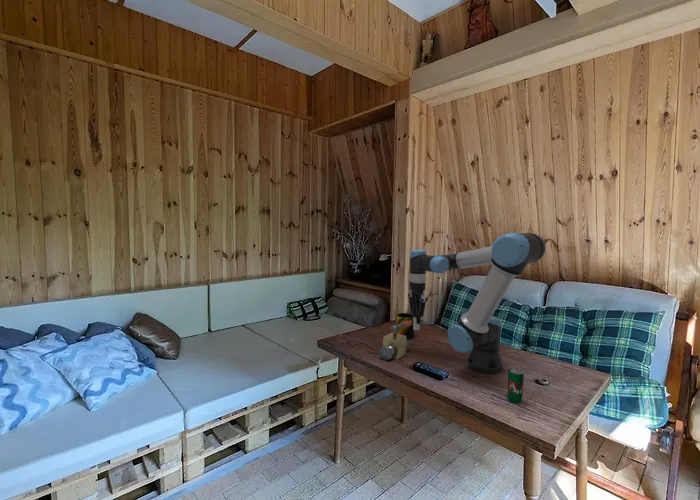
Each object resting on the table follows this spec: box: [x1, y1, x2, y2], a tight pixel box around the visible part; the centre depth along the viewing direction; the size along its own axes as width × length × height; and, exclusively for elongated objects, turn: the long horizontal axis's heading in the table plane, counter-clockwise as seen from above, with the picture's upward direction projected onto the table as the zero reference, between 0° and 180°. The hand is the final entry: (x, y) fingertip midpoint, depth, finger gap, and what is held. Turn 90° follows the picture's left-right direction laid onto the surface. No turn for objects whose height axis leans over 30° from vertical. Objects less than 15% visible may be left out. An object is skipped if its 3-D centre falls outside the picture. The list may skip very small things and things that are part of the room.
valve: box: [378, 332, 410, 361], centre depth 164 cm, size 17×8×9 cm, turn 142°
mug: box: [396, 312, 415, 341], centre depth 191 cm, size 10×14×12 cm
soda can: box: [506, 365, 525, 404], centre depth 123 cm, size 5×5×12 cm
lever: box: [390, 320, 412, 336], centre depth 167 cm, size 14×4×5 cm, turn 135°
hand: (416, 329), depth 167 cm, fingers closed
